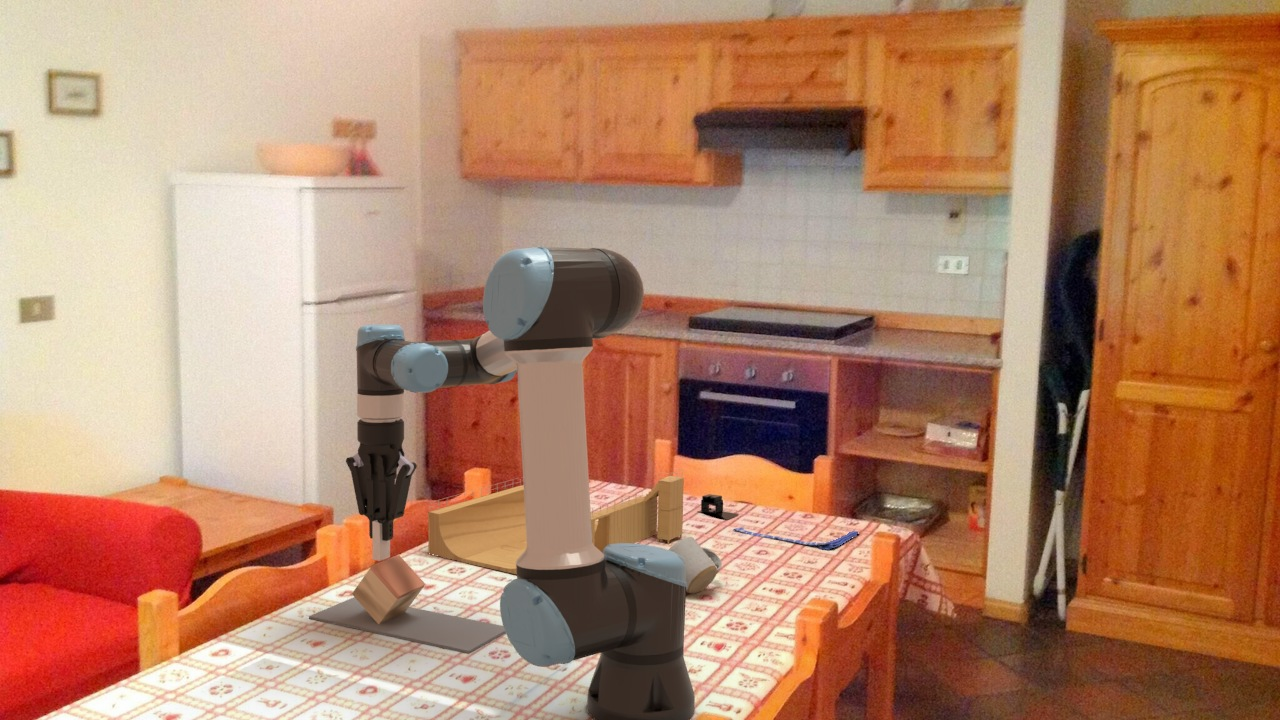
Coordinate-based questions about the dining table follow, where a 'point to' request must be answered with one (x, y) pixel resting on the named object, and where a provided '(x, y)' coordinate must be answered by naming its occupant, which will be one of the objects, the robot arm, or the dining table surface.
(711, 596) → the dining table surface
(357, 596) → the wooden cube
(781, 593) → the dining table surface
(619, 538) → the skate ramp
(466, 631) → the slate mat
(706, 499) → the black boxy piece
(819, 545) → the dish towel
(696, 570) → the ceramic mug
